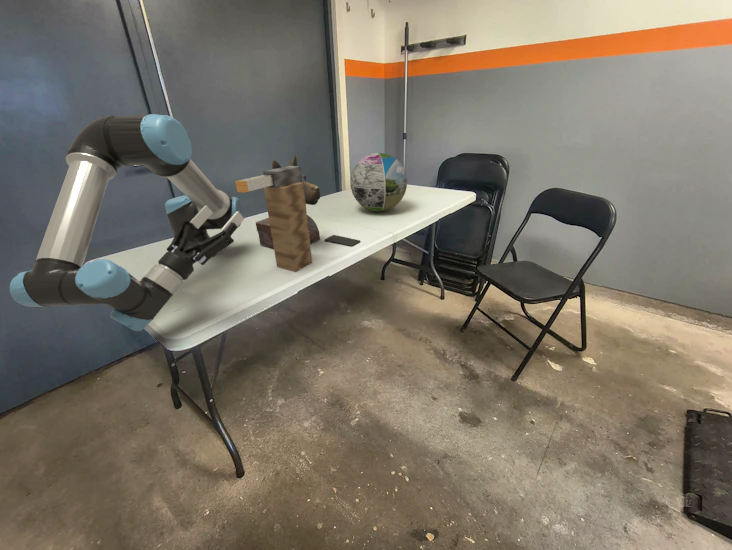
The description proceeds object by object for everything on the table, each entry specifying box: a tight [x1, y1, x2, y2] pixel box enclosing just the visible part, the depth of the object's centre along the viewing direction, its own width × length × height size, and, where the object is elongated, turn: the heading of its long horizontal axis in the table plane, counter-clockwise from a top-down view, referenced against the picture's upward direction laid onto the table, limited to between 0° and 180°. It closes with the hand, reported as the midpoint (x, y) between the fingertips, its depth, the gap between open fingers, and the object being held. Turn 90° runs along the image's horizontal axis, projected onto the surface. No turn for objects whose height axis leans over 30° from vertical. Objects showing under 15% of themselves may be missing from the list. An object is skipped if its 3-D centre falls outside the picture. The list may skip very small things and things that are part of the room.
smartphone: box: [323, 234, 361, 248], centre depth 140 cm, size 7×1×15 cm
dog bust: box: [255, 155, 321, 249], centre depth 130 cm, size 19×28×35 cm, turn 57°
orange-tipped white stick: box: [234, 174, 275, 193], centre depth 102 cm, size 23×3×3 cm, turn 148°
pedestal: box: [262, 165, 313, 273], centre depth 113 cm, size 12×9×34 cm
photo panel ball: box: [350, 152, 408, 213], centre depth 174 cm, size 30×30×30 cm
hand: (224, 211), depth 90 cm, fingers open, 13 cm apart
